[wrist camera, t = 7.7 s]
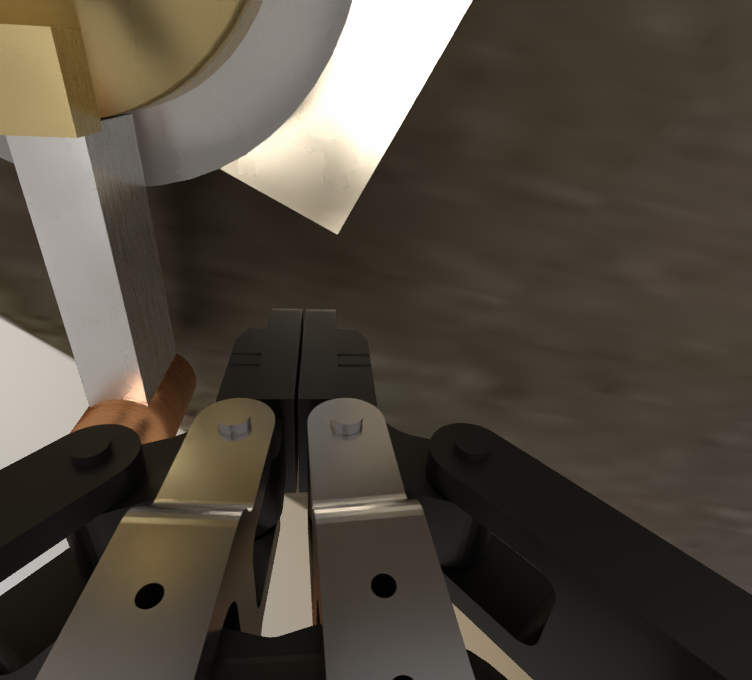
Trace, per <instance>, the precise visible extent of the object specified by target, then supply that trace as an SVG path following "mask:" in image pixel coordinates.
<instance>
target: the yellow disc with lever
mask: <svg viewBox="0 0 752 680" xmlns="http://www.w3.org/2000/svg"><path fill="white" fill-rule="evenodd" d="M262 2H263V0H0V135H6V138H7V142H8V145H9V148H10V151H11V155H12V158H13V161H14V164H15V167H16V171H17V174H18V177H19V180H20V184H21V187H22V190H23V193H24V197H25V200H26V203H27V206H28V209H29V213H30V216H31V219H32V222H33V226H34V229H35V232H36V235H37V239H38V242H39V245H40V248H41V251H42V255H43V258H44V261H45V264H46V268H47V271H48V274H49V277H50V280H51V284H52V287H53V290H54V293H55V297H56V300H57V303H58V306H59V310H60V313H61V316H62V319H63V322H64V326H65V329H66V332H67V335H68V339H69V342H70V345H71V348H72V352H73V355H74V358H75V361H76V364H77V367H78V371H79V374H80V377H81V381H82V384H83V387H84V390H85V393H86V397H87V400H88V403H89V407H88V409H87V410H86V411H85V413H84V414H83V416H82V417H81V419H80V420H79V421H78V423H77V425H75V427H74V428H73V430H72V431H71V432H70V433H72V432H74V431H77V430H80V429H83V428H86V427H90V426H95V425H101V424H117V425H123V426H126V427H129V428H131V429H133V430H134V431H135V432H136V433H137V434H138V436H139V437H140V441H141V444H145V443H149V442H154V441H158V440H163V439H167V438H171V437H175V436H176V433H177V431H178V429H179V426H180V424H181V422H182V419H183V417H184V414H185V412H186V410H187V407H188V405H189V402H190V400H191V398H192V395H193V393H194V391H195V387H196V377H195V373H194V371H193V369H192V367H191V366H190V364H189V363H188V362H187V361H186V360H185V359H184V358H183V357H181V356H180V355H178V354H177V352H176V347H175V341H174V336H173V331H172V325H171V320H170V314H169V309H168V304H167V298H166V293H165V288H164V282H163V277H162V271H161V266H160V261H159V255H158V250H157V244H156V239H155V234H154V228H153V223H152V217H151V212H150V207H149V201H148V196H147V191H146V185H145V180H144V174H143V169H142V164H141V158H140V153H139V147H138V142H137V137H136V131H135V126H134V120H133V115H132V114H123V113H128V112H132V111H137V110H142V109H146V108H151V107H154V106H157V105H160V104H163V103H166V102H169V101H171V100H174V99H176V98H178V97H180V96H182V95H183V94H185V93H187V92H189V91H191V90H193V89H195V88H196V87H197V86H199V85H200V84H201V83H203V82H204V81H205V80H207V79H208V78H209V77H211V76H212V75H213V74H214V73H215V72H216V71H217V70H218V69H219V68H220V67H221V66H222V65H223V64H224V63H225V62H226V61H227V60H228V59H229V58H230V57H231V56H232V54H233V53H234V52H235V50H236V49H237V47H238V46H239V45H240V43H241V42H242V40H243V39H244V38H245V36H246V35H247V33H248V31H249V29H250V27H251V25H252V23H253V22H254V20H255V18H256V16H257V14H258V12H259V10H260V8H261V5H262Z"/></svg>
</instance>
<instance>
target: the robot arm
mask: <svg viewBox="0 0 752 680" xmlns="http://www.w3.org/2000/svg"><path fill="white" fill-rule="evenodd" d="M298 456H299V492H308V542H309V562H310V582H311V601H312V623H313V626H311V627H307V628H304V629H301V630H298V631H295V632H292V633H288V634H285V635H283V636H279V637H271V638H269V637H263V636H261V632H262V623H263V616H264V611H265V606H266V601H267V595H268V589H269V585H270V579H271V574H272V569H273V563H274V558H275V552H276V547H277V542H278V536H279V531H280V516H281V514H282V509H283V501H284V493H296V485H297V471H298ZM492 533H493V534H494V535H493V534H492ZM496 536H497V537H498V538H499V539H498V538H497V537H496ZM65 538H66V539H67V541H68V544H69V546H70V548H68V549H67V550H65V551H64V552H63V553H61V554H60V555H58V556H57V557H55V558H54V559H53V560H51V561H50V562H49V563H47V564H45V565H44V566H43V567H41V568H40V569H38V570H37V571H35V572H34V573H33V574H31V575H30V576H28V577H27V578H25V579H24V580H23V581H21V582H20V583H18V584H17V585H15V586H14V587H12V588H11V589H10V590H8V591H7V592H5V593H4V594H2V595H1V596H0V680H508V679H506V678H505V677H504V676H503V675H502V674H501V673H500V672H498V671H497V670H496V669H495V668H494V667H492V666H491V665H490V664H489V663H487V662H486V661H485V660H483V659H481V658H480V657H478V656H477V655H475V654H474V653H472V652H471V651H469V650H467V649H466V648H465V645H464V641H463V638H462V635H461V632H460V629H459V625H458V622H457V619H456V615H455V612H454V609H453V606H452V603H453V604H454V605H455V606H456V607H457V608H458V609H459V610H461V611H462V612H463V613H464V614H465V615H466V616H467V617H468V618H469V619H470V620H471V621H472V622H473V623H474V624H475V625H476V626H477V627H478V628H479V629H481V630H482V631H483V632H484V633H485V634H486V635H487V636H488V637H489V638H490V639H491V640H492V641H493V642H494V643H495V644H496V645H497V646H498V647H500V648H501V649H502V650H503V651H504V652H505V653H506V654H507V655H508V656H509V657H510V658H511V659H512V660H513V661H514V662H515V663H516V664H517V665H518V666H519V667H521V668H522V669H523V670H524V671H525V672H526V673H527V674H528V675H529V676H530V677H531V678H532V679H534V680H752V595H751V594H749V593H748V592H746V591H745V590H743V589H741V588H740V587H738V586H737V585H735V584H733V583H732V582H730V581H729V580H727V579H725V578H724V577H722V576H721V575H719V574H718V573H716V572H714V571H713V570H711V569H710V568H708V567H706V566H705V565H703V564H702V563H700V562H698V561H697V560H695V559H694V558H692V557H691V556H689V555H687V554H686V553H684V552H683V551H681V550H679V549H678V548H676V547H675V546H673V545H671V544H670V543H668V542H667V541H665V540H664V539H662V538H660V537H659V536H657V535H656V534H654V533H652V532H651V531H649V530H648V529H646V528H644V527H643V526H641V525H640V524H638V523H637V522H635V521H633V520H632V519H630V518H629V517H627V516H625V515H624V514H622V513H621V512H619V511H618V510H616V509H614V508H613V507H611V506H610V505H608V504H606V503H605V502H603V501H602V500H600V499H598V498H597V497H595V496H594V495H592V494H591V493H589V492H587V491H586V490H584V489H583V488H581V487H579V486H578V485H576V484H575V483H573V482H571V481H570V480H568V479H567V478H565V477H564V476H562V475H560V474H559V473H557V472H556V471H554V470H552V469H551V468H549V467H548V466H546V465H544V464H543V463H541V462H540V461H538V460H537V459H535V458H533V457H532V456H530V455H529V454H527V453H525V452H524V451H522V450H521V449H519V448H517V447H516V446H514V445H513V444H511V443H510V442H508V441H506V440H505V439H503V438H502V437H500V436H498V435H497V434H495V433H494V432H492V431H490V430H488V429H486V428H483V427H481V426H477V425H473V424H466V423H455V424H450V425H446V426H444V427H442V428H440V429H438V430H437V431H436V432H435V433H434V434H433V436H432V438H431V440H430V439H425V438H421V437H416V436H412V435H409V434H405V433H403V432H400V431H398V430H396V429H395V428H393V427H391V426H390V425H389V424H387V423H386V422H385V419H384V416H383V414H382V413H381V412H380V411H379V410H378V408H377V402H376V395H375V388H374V382H373V375H372V368H371V361H370V357H369V348H368V341H367V340H366V339H365V338H364V337H363V336H362V335H361V334H360V333H359V331H358V330H336V310H328V309H305V319H304V331H303V309H276V308H272V310H271V314H270V319H269V323H268V328H267V329H257V328H249V329H247V330H246V331H245V332H244V333H243V334H242V335H241V336H239V337H238V338H237V339H236V341H235V344H234V347H233V350H232V355H231V356H230V359H229V362H228V367H227V369H226V372H225V375H224V378H223V381H222V384H221V387H220V390H219V393H218V396H217V400H216V403H214V404H211V405H210V406H208V407H206V408H205V409H203V410H202V411H201V412H200V413H199V414H198V415H197V416H196V418H195V419H194V421H193V423H192V425H191V427H190V429H189V431H188V432H186V433H184V434H181V435H178V436H175V437H171V438H167V439H163V440H158V441H154V442H149V443H145V444H141V441H140V437H139V436H138V434H137V433H136V432H135V431H134V430H133V429H131V428H129V427H126V426H123V425H117V424H101V425H95V426H90V427H86V428H83V429H80V430H77V431H74V432H72V433H70V434H68V435H66V436H64V437H62V438H60V439H58V440H57V441H55V442H53V443H51V444H49V445H47V446H45V447H43V448H41V449H39V450H38V451H36V452H34V453H32V454H30V455H28V456H26V457H24V458H22V459H20V460H19V461H16V462H15V463H13V464H11V465H9V466H7V467H5V468H3V469H1V470H0V582H2V581H3V580H5V579H6V578H8V577H9V576H11V575H12V574H13V573H15V572H16V571H18V570H19V569H21V568H22V567H24V566H25V565H27V564H28V563H29V562H31V561H33V560H34V559H35V558H37V557H38V556H40V555H41V554H43V553H44V552H46V551H47V550H48V549H50V548H52V547H53V546H55V545H56V544H58V543H59V542H60V541H62V540H63V539H65ZM500 539H501V540H502V541H503V542H502V541H501V540H500ZM505 543H506V544H507V545H508V546H507V545H506V544H505ZM510 547H511V548H512V549H513V550H512V549H511V548H510ZM514 550H515V551H516V552H517V553H516V552H515V551H514ZM519 554H520V555H521V556H522V557H521V556H520V555H519ZM524 558H525V559H526V560H527V561H526V560H525V559H524ZM528 561H529V562H530V563H531V564H532V565H531V564H530V563H529V562H528ZM533 565H534V566H535V567H536V568H535V567H534V566H533ZM538 569H539V570H540V571H541V572H540V571H539V570H538Z"/></svg>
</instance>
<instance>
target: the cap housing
mask: <svg viewBox="0 0 752 680" xmlns="http://www.w3.org/2000/svg"><path fill="white" fill-rule="evenodd" d="M471 2H472V0H263V2H262V5H261V8H260V10H259V12H258V14H257V16H256V18H255V20H254V22H253V23H252V25H251V27H250V29H249V31H248V33H247V35H246V36H245V38H244V39H243V40H242V42H241V43H240V45H239V46H238V47H237V49H236V50H235V52H234V53H233V54H232V56H231V57H230V58H229V59H228V60H227V61H226V62H225V63H224V64H223V65H222V66H221V67H220V68H219V69H218V70H217V71H216V72H215V73H214V74H213V75H212V76H211V77H209V78H208V79H207V80H205V81H204V82H203V83H201V84H200V85H199V86H197V87H196V88H195V89H193V90H191V91H189V92H187V93H185V94H183V95H182V96H180V97H178V98H176V99H174V100H171V101H169V102H166V103H163V104H160V105H157V106H154V107H151V108H146V109H142V110H137V111H132V112H128V113H123V114H132V115H133V120H134V126H135V131H136V137H137V142H138V147H139V153H140V158H141V164H142V169H143V174H144V180H145V185H146V186H159V185H164V184H169V183H175V182H180V181H185V180H189V179H192V178H195V177H198V176H201V175H204V174H206V173H209V172H212V171H215V170H218V169H221V170H223V171H224V172H226V173H228V174H230V175H232V176H233V177H235V178H237V179H239V180H240V181H242V182H244V183H246V184H248V185H249V186H251V187H253V188H255V189H257V190H258V191H260V192H262V193H264V194H266V195H267V196H269V197H271V198H273V199H275V200H276V201H278V202H280V203H282V204H283V205H285V206H287V207H289V208H291V209H292V210H294V211H296V212H298V213H300V214H301V215H303V216H305V217H307V218H309V219H310V220H312V221H314V222H316V223H318V224H319V225H321V226H323V227H325V228H326V229H328V230H330V231H332V232H334V233H335V234H337V235H338V233H339V231H340V229H341V228H342V226H343V224H344V222H345V221H346V219H347V217H348V216H349V214H350V212H351V210H352V209H353V207H354V205H355V203H356V202H357V200H358V198H359V196H360V195H361V193H362V191H363V189H364V188H365V186H366V184H367V183H368V181H369V179H370V177H371V176H372V174H373V172H374V170H375V169H376V167H377V165H378V163H379V162H380V160H381V158H382V157H383V155H384V153H385V151H386V150H387V148H388V146H389V144H390V143H391V141H392V139H393V137H394V136H395V134H396V132H397V130H398V129H399V127H400V125H401V124H402V122H403V120H404V118H405V117H406V115H407V113H408V111H409V110H410V108H411V106H412V104H413V103H414V101H415V99H416V98H417V96H418V94H419V92H420V91H421V89H422V87H423V85H424V84H425V82H426V80H427V78H428V77H429V75H430V73H431V71H432V70H433V68H434V66H435V65H436V63H437V61H438V59H439V58H440V56H441V54H442V52H443V51H444V49H445V47H446V45H447V44H448V42H449V40H450V39H451V37H452V35H453V33H454V32H455V30H456V28H457V26H458V25H459V23H460V21H461V19H462V18H463V16H464V14H465V12H466V11H467V9H468V7H469V6H470V4H471ZM0 158H2V159H5V160H7V161H9V162H12V163H14V161H13V158H12V155H11V151H10V148H9V145H8V142H7V138H6V135H0Z"/></svg>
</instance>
